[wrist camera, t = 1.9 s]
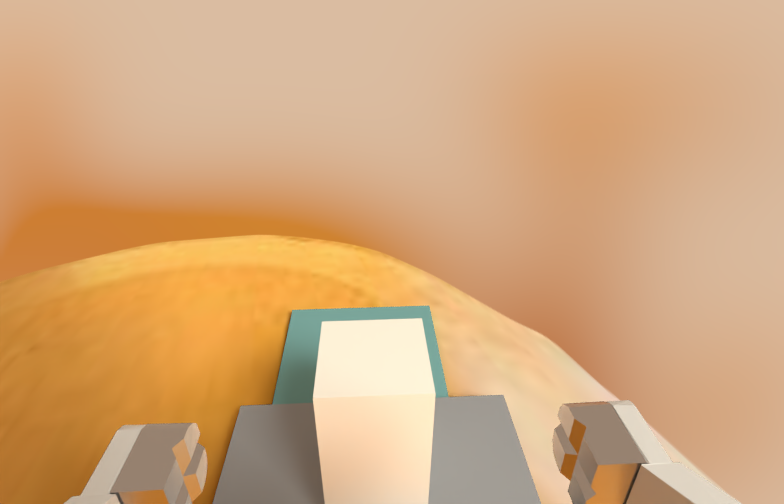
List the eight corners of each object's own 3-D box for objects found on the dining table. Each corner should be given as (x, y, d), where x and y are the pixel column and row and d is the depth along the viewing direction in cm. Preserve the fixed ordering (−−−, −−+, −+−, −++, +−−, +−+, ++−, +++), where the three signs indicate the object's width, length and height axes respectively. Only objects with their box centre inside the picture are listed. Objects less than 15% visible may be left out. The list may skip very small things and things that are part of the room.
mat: (272, 417, 36) (270, 410, 36) (293, 316, 48) (292, 310, 47) (449, 410, 37) (449, 403, 37) (428, 311, 48) (429, 305, 48)
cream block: (326, 519, 28) (312, 398, 23) (332, 434, 33) (321, 321, 28) (427, 513, 28) (435, 393, 23) (417, 431, 33) (421, 318, 28)
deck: (197, 602, 26) (189, 582, 25) (244, 424, 36) (240, 405, 35) (554, 579, 27) (560, 560, 26) (500, 412, 37) (503, 394, 36)
